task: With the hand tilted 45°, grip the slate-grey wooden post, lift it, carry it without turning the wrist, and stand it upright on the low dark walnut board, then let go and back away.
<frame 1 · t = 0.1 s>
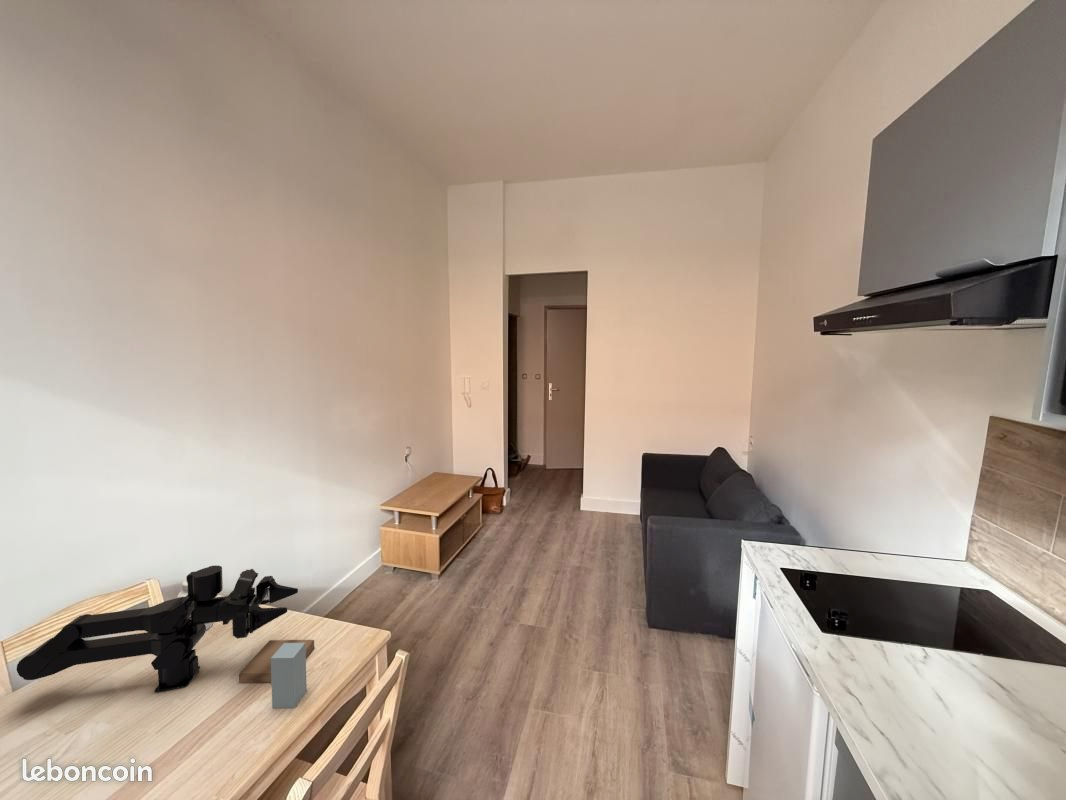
hand: (292, 599, 103), 17 cm above the table, tool horizontal, fingers open, 9 cm apart
slate post: (289, 699, 91), on the table
walnut board: (278, 664, 102), on the table
pill bottle: (196, 629, 116), on the table
supplement bottle: (245, 629, 116), on the table
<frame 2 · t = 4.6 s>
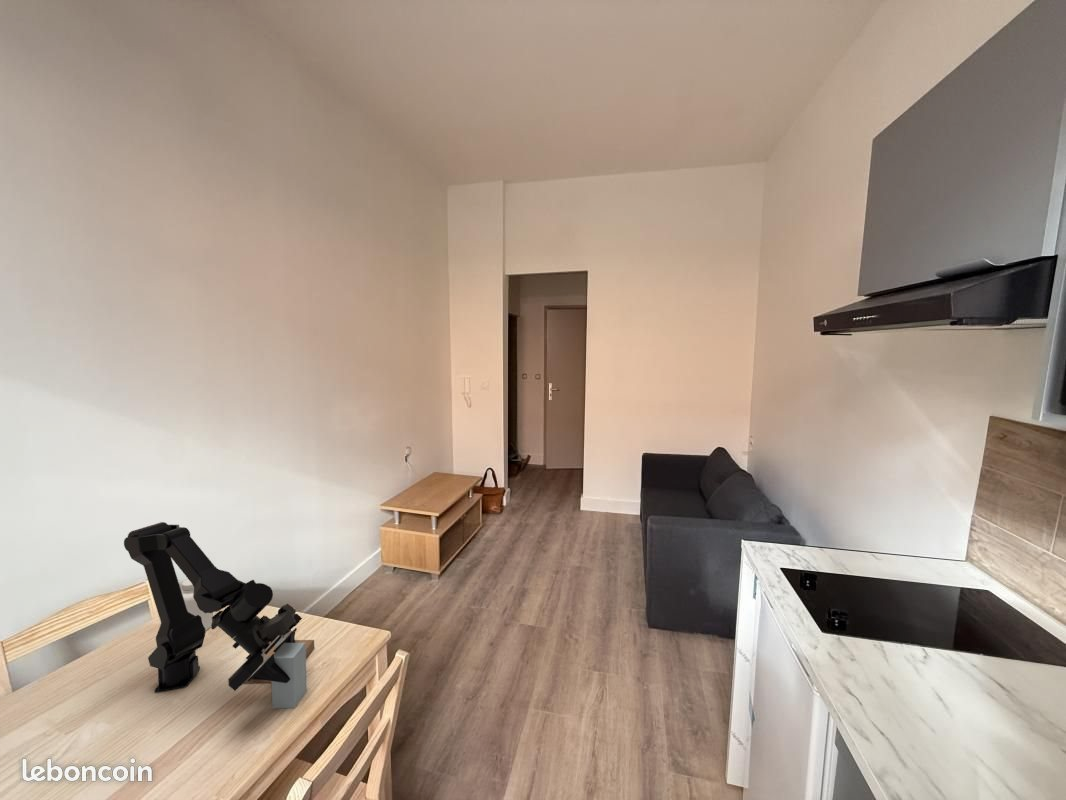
hand: (295, 672, 91), 7 cm above the table, tool tilted 45°, fingers closed on slate post, 5 cm apart
slate post: (289, 699, 91), on the table, touching gripper
everything else where it was.
when the fingers open (10 cm above the table, at t = 11.6 s): slate post stays where it is, resting on walnut board.
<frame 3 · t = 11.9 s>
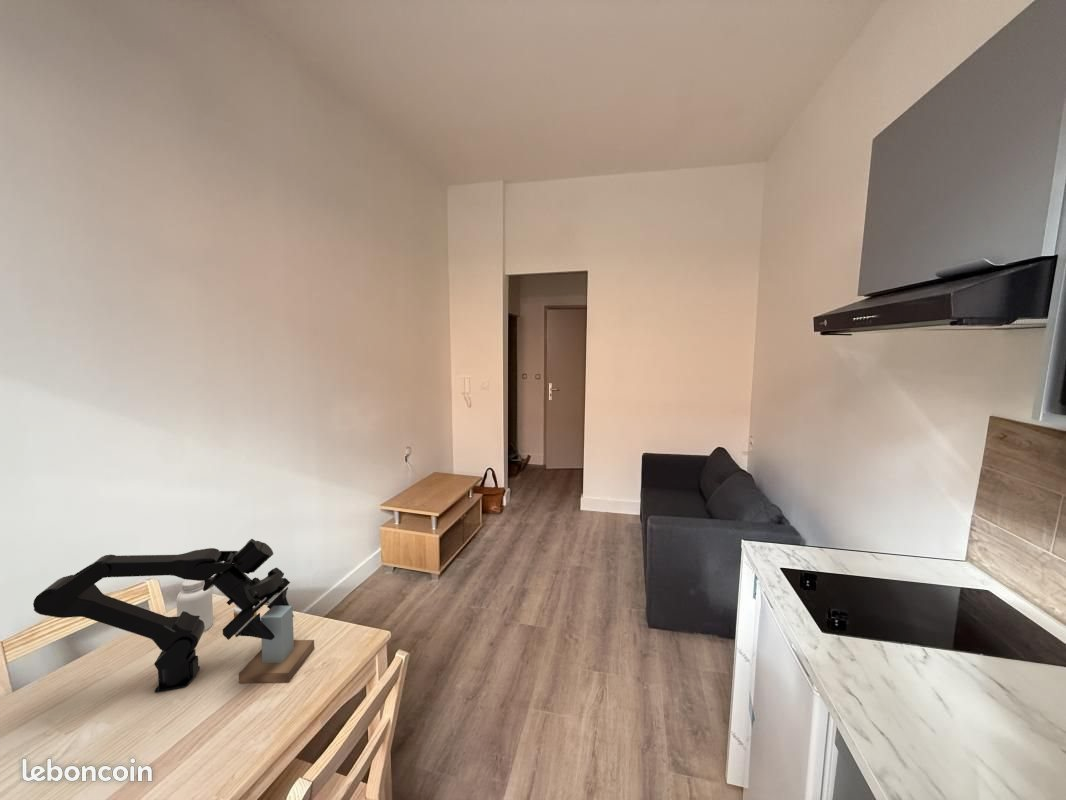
hand: (283, 627, 101), 10 cm above the table, tool tilted 45°, fingers open, 8 cm apart
slate post: (278, 655, 102), point 2 cm above the table, touching walnut board
everything else where it was.
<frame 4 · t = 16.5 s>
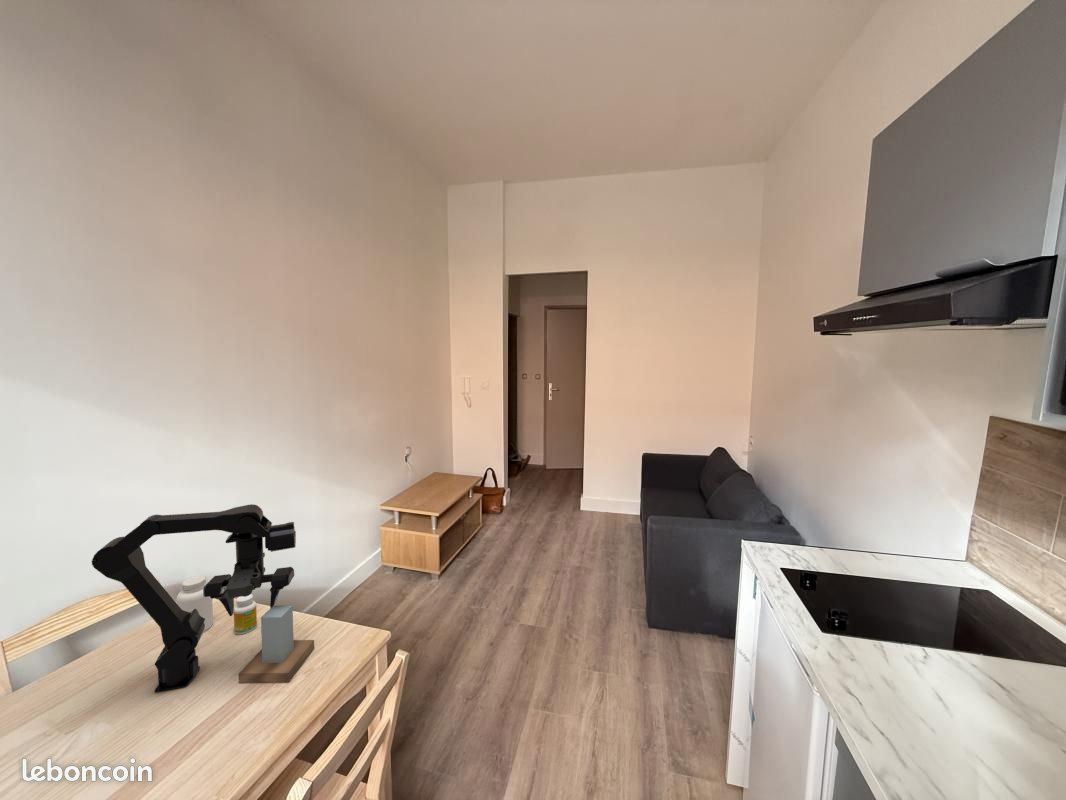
hand: (252, 612, 103), 13 cm above the table, tool pointing down, fingers open, 9 cm apart
slate post: (278, 655, 102), point 2 cm above the table, touching gripper, walnut board
everything else where it was.
at the end: slate post inside the target area on the walnut board (0.0 cm from its centre), point 2.5 cm above the walnut board's base; slate post tilted 0°; the gripper is holding nothing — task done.
